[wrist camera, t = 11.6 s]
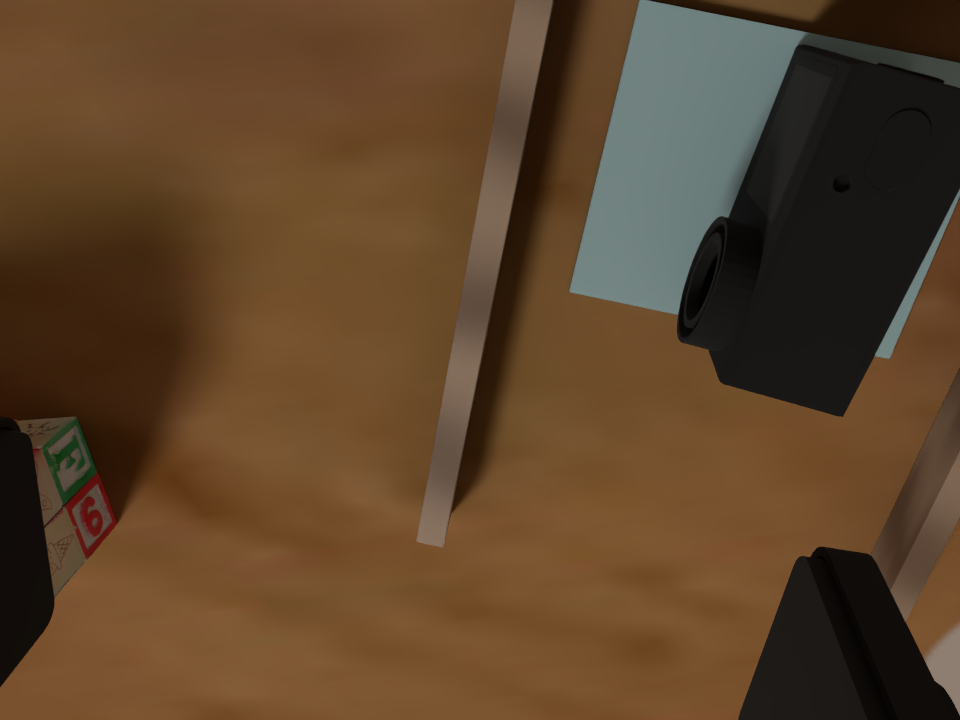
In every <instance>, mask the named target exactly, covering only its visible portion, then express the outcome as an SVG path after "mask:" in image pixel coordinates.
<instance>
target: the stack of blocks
mask: <svg viewBox="0 0 960 720" xmlns="http://www.w3.org/2000/svg"><path fill="white" fill-rule="evenodd" d="M14 420H15V419H14ZM15 421H16V423H17V424H18V425H19V427H20V430H21V432H24V433H26V434H28V436H29V437H30V438H31V442H32V446H33V453H34V460H35V467H36V474H37V481H38V488H39V495H40V501H41V508H42V515H43V522H44V529H45V536H46V543H47V550H48V557H49V564H50V571H51V577H52V584H53V591H54V598H55V597H56V596H57V594H58V593H59V592H60V591H61V589H62V588H63V587H64V585H65V584H66V583H67V582H68V581H69V580H70V578H71V577H72V576H73V575H74V574H75V573H76V571H77V570H78V569H79V568H80V567H81V565H82V564H83V563H84V561H86V560H87V559H88V558H89V557H90V556H91V555H92V554H93V553H94V551H95V550H96V549H97V548H98V547H99V545H100V544H101V543H102V541H103V540H104V539H105V538H106V537H107V536H108V535H109V533H110V532H111V531H112V530H113V529H114V528H115V526H116V525H117V522H116V519H115V516H114V514H113V511H112V508H111V506H110V503H109V500H108V498H107V495H106V492H105V490H104V487H103V484H102V482H101V479H100V476H99V474H98V473H97V471H96V468H95V466H94V463H93V460H92V457H91V455H90V452H89V449H88V446H87V444H86V441H85V438H84V436H83V433H82V430H81V428H80V425H79V422H78V419H77V417H62V418H49V419H35V420H22V421H19V420H15Z"/></svg>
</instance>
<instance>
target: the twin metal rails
mask: <svg viewBox="0 0 960 720" xmlns="http://www.w3.org/2000/svg"><path fill="white" fill-rule="evenodd" d="M554 1H555V0H516V1H515V6H514V12H513V17H512V23H511V28H510V34H509V39H508V45H507V50H506V56H505V61H504V66H503V72H502V77H501V83H500V88H499V94H498V99H497V105H496V110H495V116H494V121H493V126H492V132H491V137H490V143H489V148H488V154H487V159H486V165H485V170H484V176H483V181H482V186H481V192H480V197H479V203H478V208H477V214H476V219H475V225H474V230H473V236H472V241H471V246H470V252H469V257H468V263H467V268H466V274H465V279H464V285H463V290H462V296H461V301H460V306H459V312H458V317H457V323H456V328H455V334H454V339H453V345H452V350H451V356H450V361H449V366H448V372H447V377H446V383H445V388H444V394H443V399H442V405H441V410H440V416H439V421H438V426H437V432H436V437H435V443H434V448H433V454H432V459H431V465H430V470H429V476H428V481H427V486H426V492H425V497H424V503H423V508H422V514H421V519H420V525H419V530H418V536H417V541H416V542H420V543H425V544H429V545H434V546H439V547H443V546H444V541H445V537H446V533H447V529H448V525H449V521H450V517H451V512H452V507H453V502H454V497H455V492H456V487H457V482H458V477H459V472H460V467H461V462H462V457H463V452H464V448H465V443H466V438H467V433H468V428H469V423H470V418H471V413H472V408H473V403H474V398H475V393H476V388H477V383H478V378H479V373H480V368H481V363H482V358H483V353H484V348H485V343H486V338H487V334H488V329H489V324H490V319H491V314H492V309H493V304H494V299H495V294H496V289H497V284H498V279H499V274H500V269H501V264H502V259H503V254H504V249H505V244H506V239H507V234H508V229H509V224H510V219H511V215H512V210H513V205H514V200H515V195H516V190H517V185H518V180H519V175H520V170H521V165H522V160H523V155H524V150H525V145H526V140H527V135H528V130H529V125H530V120H531V115H532V110H533V105H534V101H535V96H536V91H537V86H538V81H539V76H540V71H541V66H542V61H543V56H544V51H545V46H546V41H547V36H548V31H549V26H550V21H551V16H552V11H553V6H554ZM959 518H960V369H959V371H958V373H957V375H956V377H955V379H954V381H953V384H952V386H951V388H950V390H949V392H948V394H947V396H946V398H945V400H944V402H943V405H942V407H941V409H940V411H939V413H938V415H937V417H936V419H935V421H934V424H933V426H932V428H931V430H930V432H929V434H928V436H927V438H926V440H925V442H924V445H923V447H922V449H921V451H920V453H919V455H918V457H917V459H916V461H915V464H914V466H913V468H912V470H911V472H910V474H909V476H908V478H907V480H906V482H905V485H904V487H903V489H902V491H901V493H900V495H899V497H898V499H897V501H896V504H895V506H894V508H893V510H892V512H891V514H890V516H889V518H888V520H887V523H886V525H885V527H884V529H883V531H882V533H881V535H880V537H879V539H878V541H877V544H876V546H875V548H874V550H873V552H872V554H871V556H872V557H873V558H874V560H875V561H876V563H877V565H878V567H879V569H880V571H881V573H882V575H883V577H884V579H885V581H886V583H887V585H888V587H889V589H890V591H891V593H892V595H893V597H894V600H895V602H896V604H897V606H898V608H899V610H900V612H901V614H902V616H903V618H904V620H905V622H906V620H907V618H908V616H909V614H910V612H911V610H912V609H913V607H914V605H915V603H916V601H917V599H918V597H919V595H920V593H921V591H922V589H923V587H924V585H925V583H926V582H927V580H928V578H929V576H930V574H931V572H932V570H933V568H934V566H935V564H936V562H937V560H938V558H939V557H940V555H941V553H942V551H943V549H944V547H945V545H946V543H947V541H948V539H949V537H950V535H951V533H952V531H953V530H954V528H955V526H956V524H957V522H958V520H959Z"/></svg>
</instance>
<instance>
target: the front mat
mask: <svg viewBox="0 0 960 720" xmlns="http://www.w3.org/2000/svg"><path fill="white" fill-rule="evenodd" d="M800 44H802V45H809V46H813V47H817V48H820V49H824V50H828V51H831V52H835V53H839V54H842V55H846V56H849V57H853V58H856V59H860V60H863V61H867V62H870V63H874V64H878V63H884V64H888V65H892V66H896V67H899V68H903V69H907V70H910V71H915V72H918V73H922V74H926V75H929V76H933V77H936V78H939V79H942V80H944V81H945V82H944V84H948V85H951V86H955V87H958V88H960V63H958V62H953V61H948V60H943V59H938V58H933V57H928V56H923V55H918V54H913V53H908V52H903V51H898V50H893V49H888V48H883V47H878V46H873V45H868V44H863V43H858V42H853V41H848V40H843V39H838V38H833V37H828V36H823V35H818V34H813V33H808V32H803V31H798V30H793V29H788V28H783V27H778V26H773V25H768V24H763V23H758V22H753V21H748V20H743V19H738V18H733V17H728V16H723V15H718V14H713V13H708V12H703V11H698V10H693V9H689V8H684V7H679V6H674V5H669V4H664V3H659V2H654V1H649V0H639V4H638V8H637V12H636V16H635V20H634V24H633V28H632V33H631V37H630V41H629V45H628V49H627V53H626V57H625V61H624V66H623V70H622V74H621V78H620V82H619V86H618V90H617V95H616V99H615V103H614V107H613V111H612V115H611V119H610V124H609V128H608V132H607V136H606V140H605V144H604V148H603V153H602V157H601V161H600V165H599V169H598V173H597V177H596V182H595V186H594V190H593V194H592V198H591V202H590V206H589V211H588V215H587V219H586V223H585V227H584V231H583V235H582V240H581V244H580V248H579V252H578V256H577V260H576V264H575V268H574V273H573V277H572V281H571V285H570V289H569V292H572V293H576V294H581V295H586V296H591V297H596V298H600V299H605V300H610V301H615V302H619V303H624V304H629V305H634V306H639V307H643V308H648V309H653V310H658V311H663V312H667V313H672V314H677V315H678V312H679V307H680V302H681V297H682V293H683V289H684V285H685V282H686V279H687V276H688V272H689V269H690V266H691V264H692V261H693V258H694V256H695V254H696V251H697V249H698V247H699V245H700V242H701V240H702V238H703V236H704V235H705V233H706V231H707V230H708V228H709V227H710V225H711V224H712V223H713V221H714V220H715V219H716V218H718V217H720V216H723V217H727V218H728V217H729V215H730V212H731V210H732V207H733V204H734V202H735V199H736V197H737V194H738V192H739V189H740V187H741V184H742V182H743V179H744V177H745V174H746V172H747V169H748V167H749V164H750V162H751V159H752V157H753V154H754V151H755V149H756V146H757V144H758V141H759V139H760V136H761V134H762V131H763V129H764V126H765V124H766V121H767V119H768V116H769V114H770V111H771V109H772V106H773V104H774V101H775V98H776V96H777V93H778V91H779V88H780V86H781V83H782V81H783V78H784V76H785V73H786V71H787V68H788V66H789V63H790V61H791V58H792V56H793V53H794V51H795V48H796V47H797V46H798V45H800ZM959 197H960V189H959V191H958V193H957V195H956V197H955V199H954V201H953V203H952V205H951V207H950V209H949V211H948V213H947V215H946V217H945V219H944V221H943V223H942V225H941V227H940V229H939V231H938V233H937V235H936V237H935V239H934V241H933V243H932V244H931V246H930V248H929V250H928V252H927V254H926V256H925V258H924V260H923V262H922V264H921V266H920V268H919V270H918V272H917V274H916V276H915V278H914V280H913V282H912V284H911V286H910V287H909V289H908V291H907V293H906V295H905V297H904V299H903V301H902V303H901V305H900V307H899V309H898V311H897V313H896V315H895V317H894V319H893V321H892V323H891V325H890V327H889V329H888V330H887V332H886V334H885V336H884V338H883V340H882V342H881V344H880V346H879V348H878V350H877V352H876V354H875V356H878V357H883V358H887V359H890V356H891V354H892V352H893V350H894V347H895V345H896V343H897V340H898V338H899V336H900V333H901V331H902V329H903V326H904V324H905V322H906V319H907V317H908V315H909V313H910V310H911V308H912V306H913V303H914V301H915V299H916V296H917V294H918V292H919V289H920V287H921V285H922V282H923V280H924V278H925V276H926V273H927V271H928V269H929V266H930V264H931V262H932V259H933V257H934V255H935V252H936V250H937V248H938V245H939V243H940V241H941V239H942V236H943V234H944V232H945V229H946V227H947V225H948V222H949V220H950V218H951V215H952V213H953V211H954V208H955V206H956V204H957V202H958V199H959Z"/></svg>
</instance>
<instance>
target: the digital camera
mask: <svg viewBox="0 0 960 720" xmlns="http://www.w3.org/2000/svg"><path fill="white" fill-rule="evenodd" d="M944 82H945V81H944V80H942V79H939V78H936V77H933V76H929V75H926V74H922V73H918V72H915V71H910V70H907V69H903V68H899V67H896V66H892V65H888V64H884V63H878V64H874V63H870V62H867V61H863V60H860V59H856V58H853V57H849V56H846V55H842V54H839V53H835V52H831V51H828V50H824V49H820V48H817V47H813V46H809V45H802V44H800V45H798V46H797V47H796V48H795V51H794V53H793V56H792V58H791V61H790V63H789V66H788V68H787V71H786V73H785V76H784V78H783V81H782V83H781V86H780V88H779V91H778V93H777V96H776V98H775V101H774V104H773V106H772V109H771V111H770V114H769V116H768V119H767V121H766V124H765V126H764V129H763V131H762V134H761V136H760V139H759V141H758V144H757V146H756V149H755V151H754V154H753V157H752V159H751V162H750V164H749V167H748V169H747V172H746V174H745V177H744V179H743V182H742V184H741V187H740V189H739V192H738V194H737V197H736V199H735V202H734V204H733V207H732V210H731V212H730V215H729V217H728V218H727V217H723V216H720V217H718V218H716V219H715V220H714V221H713V223H712V224H711V225H710V227H709V228H708V230H707V231H706V233H705V235H704V236H703V238H702V240H701V242H700V245H699V247H698V249H697V251H696V254H695V256H694V258H693V261H692V264H691V266H690V269H689V272H688V276H687V279H686V282H685V285H684V289H683V293H682V297H681V302H680V307H679V312H678V322H677V334H678V338H679V340H680V342H682V343H686V344H689V345H693V346H697V347H701V348H704V349H708V350H709V353H710V356H711V358H712V361H713V364H714V367H715V370H716V373H717V376H718V378H719V381H720V382H721V383H723V384H724V385H729V386H732V387H736V388H740V389H743V390H747V391H750V392H754V393H757V394H761V395H765V396H768V397H772V398H775V399H779V400H782V401H786V402H790V403H793V404H797V405H800V406H804V407H807V408H811V409H815V410H818V411H822V412H825V413H829V414H832V415H835V416H841V417H843V415H844V414H845V412H846V410H847V408H848V406H849V404H850V402H851V400H852V398H853V396H854V394H855V392H856V390H857V389H858V387H859V385H860V383H861V381H862V379H863V377H864V375H865V373H866V371H867V369H868V367H869V366H870V364H871V362H872V360H873V358H874V356H875V354H876V352H877V350H878V348H879V346H880V344H881V342H882V340H883V338H884V336H885V334H886V332H887V330H888V329H889V327H890V325H891V323H892V321H893V319H894V317H895V315H896V313H897V311H898V309H899V307H900V305H901V303H902V301H903V299H904V297H905V295H906V293H907V291H908V289H909V287H910V286H911V284H912V282H913V280H914V278H915V276H916V274H917V272H918V270H919V268H920V266H921V264H922V262H923V260H924V258H925V256H926V254H927V252H928V250H929V248H930V246H931V244H932V243H933V241H934V239H935V237H936V235H937V233H938V231H939V229H940V227H941V225H942V223H943V221H944V219H945V217H946V215H947V213H948V211H949V209H950V207H951V205H952V203H953V201H954V199H955V197H956V195H957V193H958V191H959V189H960V88H958V87H955V86H951V85H948V84H944Z"/></svg>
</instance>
